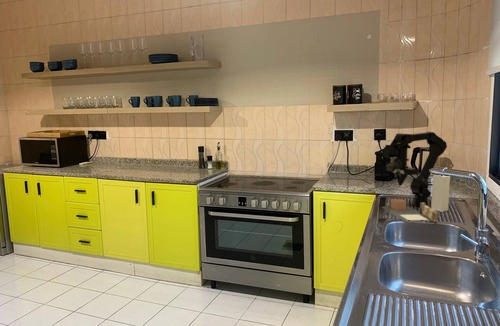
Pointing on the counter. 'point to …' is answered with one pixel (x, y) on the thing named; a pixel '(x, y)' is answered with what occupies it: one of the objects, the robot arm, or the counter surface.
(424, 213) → the tan wooden bar
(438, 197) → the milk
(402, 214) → the grey panel
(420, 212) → the olive long rounded piece
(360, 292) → the counter surface
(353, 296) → the counter surface
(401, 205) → the block
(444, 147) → the robot arm
